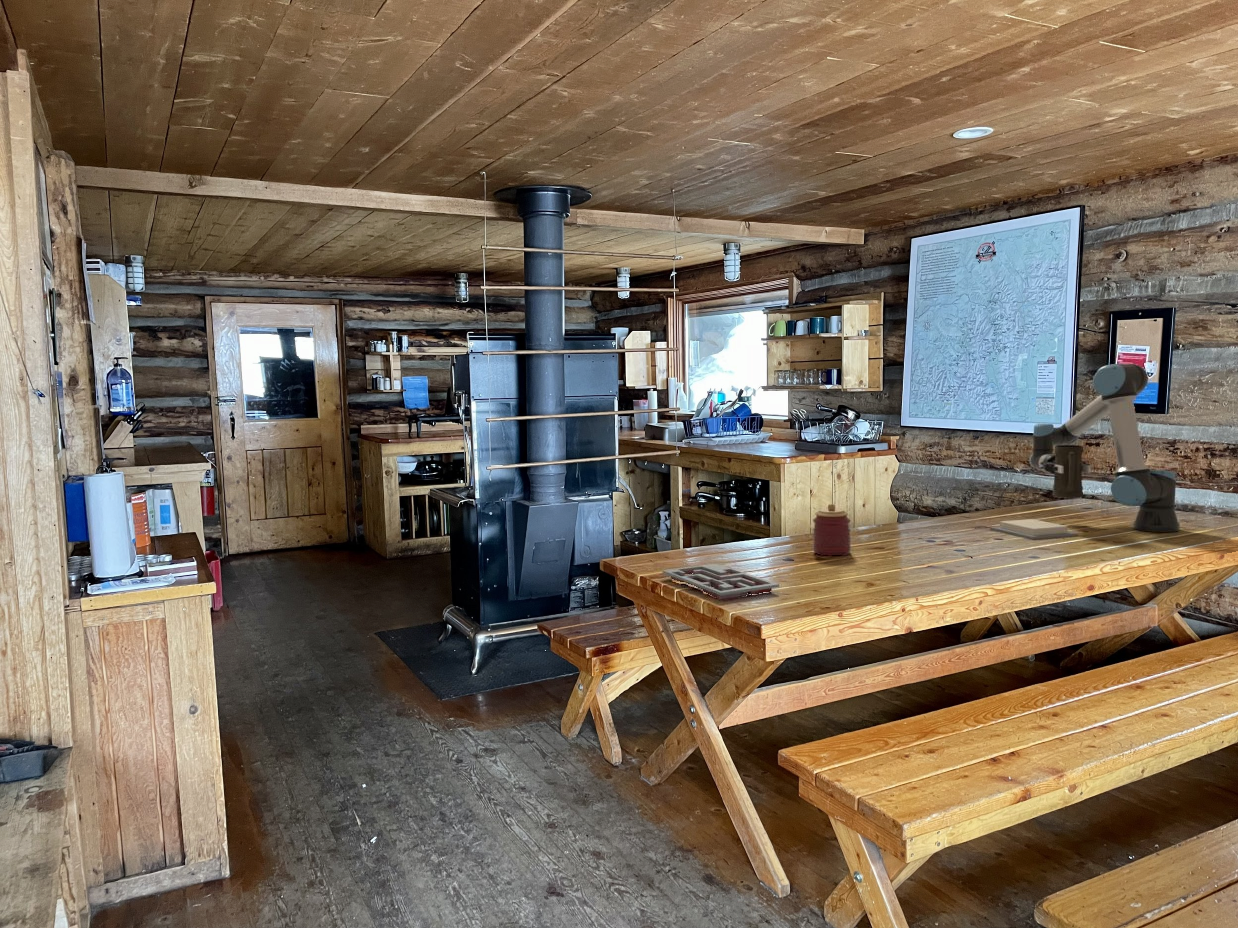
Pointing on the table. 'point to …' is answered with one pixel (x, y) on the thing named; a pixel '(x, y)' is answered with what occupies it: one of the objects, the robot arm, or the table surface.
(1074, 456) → the beer stein
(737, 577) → the maze game
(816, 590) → the table surface
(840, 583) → the table surface
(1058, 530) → the stand
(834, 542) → the canister
